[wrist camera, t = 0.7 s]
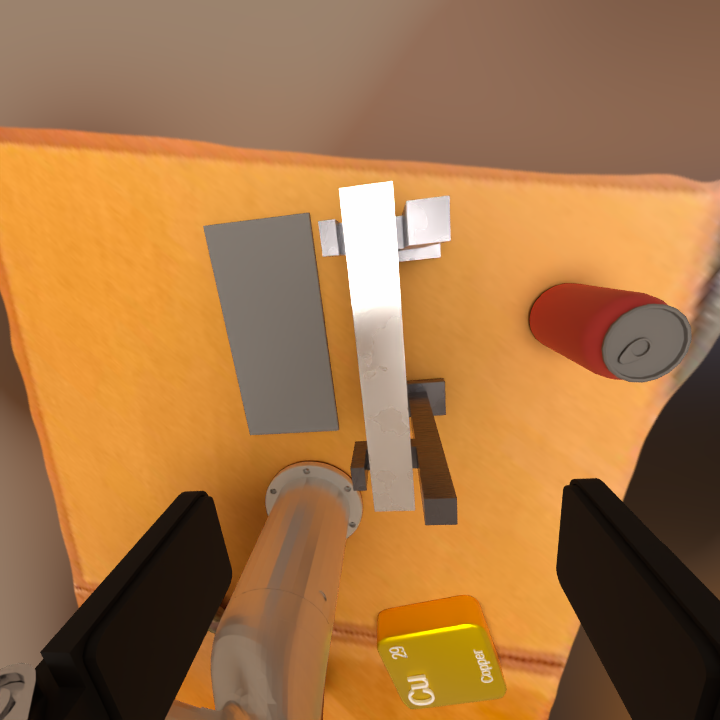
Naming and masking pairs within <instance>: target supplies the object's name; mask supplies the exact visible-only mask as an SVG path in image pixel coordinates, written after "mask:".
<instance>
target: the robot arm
mask: <svg viewBox="0 0 720 720" xmlns="http://www.w3.org/2000/svg"><path fill="white" fill-rule="evenodd" d="M265 506H266V510H267V514H268V518H267V521H266V523H265V525H264V527H263V529H262V531H261V533H260V536H259V538H258V540H257V542H256V544H255V546H254V549H253V551H252V553H251V555H250V557H249V559H248V562H247V564H246V566H245V568H244V570H243V572H242V574H241V577H240V579H239V581H238V583H237V585H236V587H235V590H234V592H233V594H232V596H231V598H230V600H229V603H228V605H227V607H226V609H225V611H224V613H223V616H222V618H221V620H220V622H219V625H218V627H217V630H216V633H215V637H214V641H213V646H212V654H211V679H212V689H213V696H214V702H215V709H216V711H215V710H212V709H208V708H204V707H202V708H198V707H195V706H192V705H189V704H186V703H183V702H180V701H177V700H174V699H175V697H176V695H177V693H178V691H179V689H180V687H181V685H182V683H183V681H184V679H185V677H186V675H187V673H188V670H189V668H190V666H191V664H192V662H193V660H194V658H195V656H196V654H197V652H198V650H199V648H200V646H201V644H202V642H203V639H204V637H205V635H206V633H207V631H208V629H209V627H210V625H211V623H212V621H213V619H214V617H215V615H216V613H217V611H218V608H219V606H220V604H221V602H222V600H223V598H224V596H225V594H226V592H227V590H228V588H229V586H230V583H231V579H232V568H231V564H230V561H229V557H228V553H227V549H226V546H225V542H224V538H223V534H222V531H221V527H220V523H219V519H218V516H217V512H216V508H215V504H214V501H213V498H212V497H210V496H208V494H207V493H206V492H205V491H188V492H182V493H181V494H180V495H179V496H178V497H177V498H176V499H175V500H174V501H173V503H172V504H171V505H170V506H169V507H168V508H167V509H166V511H165V512H164V513H163V514H162V515H161V516H160V517H159V518H158V520H157V521H156V522H155V523H154V524H153V525H152V526H151V527H150V529H149V530H148V531H147V532H146V533H145V534H144V535H143V537H142V538H141V539H140V540H139V541H138V542H137V543H136V544H135V546H134V547H133V548H132V549H131V550H130V551H129V552H128V554H127V555H126V556H125V557H124V558H123V559H122V560H121V561H120V563H119V564H118V565H117V566H116V567H115V568H114V569H113V570H112V572H111V573H110V574H109V575H108V576H107V577H106V578H105V580H104V581H103V582H102V583H101V584H100V585H99V586H98V587H97V589H96V590H95V591H94V592H93V593H92V594H91V595H90V596H89V598H88V599H87V600H86V601H85V602H84V603H83V604H82V606H81V607H80V608H79V609H78V610H77V611H76V612H75V613H74V615H73V616H72V617H71V618H70V619H69V620H68V621H67V623H66V624H65V625H64V626H63V627H62V628H61V630H60V631H59V632H58V633H57V634H56V635H55V636H54V637H53V638H52V639H51V641H50V642H49V643H48V644H47V645H46V646H45V648H44V649H43V650H42V651H41V652H40V653H41V654H42V656H43V658H44V659H43V660H42V661H41V662H40V663H39V665H38V666H37V667H36V668H35V669H34V668H33V667H32V666H31V665H30V664H25V663H18V664H14V665H9V666H6V667H4V668H2V669H0V720H321V713H322V703H323V693H324V686H325V678H326V671H327V663H328V657H329V650H330V643H331V637H332V630H333V624H334V617H335V610H336V604H337V597H338V590H339V584H340V577H341V570H342V564H343V557H344V550H345V543H346V539H347V538H348V537H349V536H351V535H352V534H353V533H354V532H355V530H356V529H357V528H358V526H359V524H360V521H361V517H362V510H363V503H362V497H361V494H360V491H353V483H352V479H351V478H350V477H349V476H348V475H346V474H345V473H344V472H342V471H341V470H339V469H337V468H335V467H333V466H331V465H328V464H325V463H320V462H300V463H295V464H293V465H290V466H287V467H286V468H284V469H283V470H281V471H280V472H279V473H278V474H277V475H276V476H275V477H274V478H273V480H272V481H271V483H270V485H269V487H268V489H267V493H266V497H265ZM556 571H557V576H558V580H559V582H560V585H561V587H562V589H563V590H564V592H565V594H566V596H567V598H568V600H569V602H570V604H571V605H572V607H573V609H574V611H575V613H576V615H577V617H578V619H579V620H580V622H581V624H582V626H583V628H584V630H585V632H586V633H587V635H588V637H589V639H590V641H591V643H592V645H593V647H594V649H595V651H596V652H597V654H598V656H599V658H600V660H601V662H602V664H603V666H604V667H605V669H606V671H607V673H608V675H609V677H610V679H611V681H612V682H613V684H614V686H615V688H616V690H617V692H618V694H619V695H620V697H621V699H622V701H623V703H624V705H625V707H626V709H627V711H628V712H629V714H630V716H631V718H632V720H720V601H719V600H718V598H717V597H716V596H714V594H713V593H712V592H711V591H710V590H709V589H708V588H707V587H706V586H705V585H704V584H703V583H702V582H701V581H700V580H699V579H698V578H697V577H696V576H695V575H694V574H693V573H692V572H691V571H690V570H689V569H688V568H687V567H686V566H685V565H684V564H683V563H682V562H681V561H680V559H679V558H678V557H677V556H676V555H675V554H674V553H672V551H671V550H670V549H669V548H668V547H667V546H666V545H665V544H663V543H662V542H661V541H660V540H659V539H658V538H657V537H656V536H655V535H654V534H653V533H652V532H651V531H650V530H649V529H648V528H647V527H646V526H645V525H644V524H643V523H642V521H641V520H640V519H638V517H637V516H636V515H635V514H634V513H633V512H632V511H630V509H629V508H628V507H627V506H626V505H625V504H624V503H623V502H622V501H621V500H620V499H619V498H618V497H617V496H616V495H615V494H614V493H613V492H612V491H611V490H610V489H609V487H608V486H607V485H606V484H605V483H604V482H603V481H601V480H600V479H597V478H592V479H573V480H571V482H570V485H566V486H565V487H564V489H563V497H562V509H561V520H560V531H559V543H558V554H557V565H556Z"/></svg>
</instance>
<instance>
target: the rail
mask: <svg viewBox="0 0 720 720" xmlns="http://www.w3.org/2000/svg"><path fill="white" fill-rule="evenodd" d="M339 194H340V203H341V212H342V221H343V230H344V239H345V248H346V257H347V266H348V275H349V284H350V293H351V302H352V311H353V320H354V329H355V338H356V347H357V356H358V365H359V374H360V383H361V392H362V401H363V410H364V419H365V428H366V437H367V446H368V455H369V464H370V473H371V482H372V491H373V500H374V509H375V511H413V510H415V500H414V486H413V471H412V456H411V442H410V427H409V412H408V398H407V383H406V369H405V354H404V339H403V325H402V310H401V296H400V281H399V266H398V252H397V237H396V222H395V208H394V193H393V181H390V182H382V183H375V184H367V185H360V186H352V187H345V188H339Z"/></svg>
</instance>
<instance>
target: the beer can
mask: <svg viewBox="0 0 720 720" xmlns="http://www.w3.org/2000/svg"><path fill="white" fill-rule="evenodd" d="M529 321H530V327H531V331H532V333H533V334H534V336H535V338H536V339H537V340H538V341H540V342H541V343H542V344H544V345H545V346H547V347H549V348H551V349H552V350H554V351H556V352H558V353H560V354H561V355H563V356H565V357H567V358H568V359H570V360H572V361H574V362H576V363H577V364H579V365H581V366H583V367H584V368H586V369H588V370H590V371H592V372H593V373H595V374H598V375H601V376H603V377H606V378H610V379H619V380H626V381H628V382H647V381H651V380H655V379H658V378H660V377H662V376H664V375H666V374H667V373H669V372H670V371H672V370H673V369H674V368H675V367H676V366H677V365H678V364H680V362H681V361H682V359H683V358H684V356H685V355H686V354H687V352H688V349H689V346H690V343H691V326H690V324H689V322H688V320H687V318H686V316H685V315H684V314H682V313H681V312H680V311H679V310H678V309H676V308H674V307H671V306H668V305H667V304H666V303H665V302H664V301H662V300H660V299H658V298H656V297H653V296H650V295H647V294H645V293H639V292H632V291H625V290H618V289H611V288H603V287H596V286H589V285H582V284H572V283H564V284H561V285H557V286H554V287H552V288H550V289H549V290H547V291H546V292H544V293H543V294H542V295H541V296H540V297H539V298H538V299H537V300H536V302H535V304H534V306H533V308H532V310H531V314H530V320H529Z"/></svg>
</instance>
